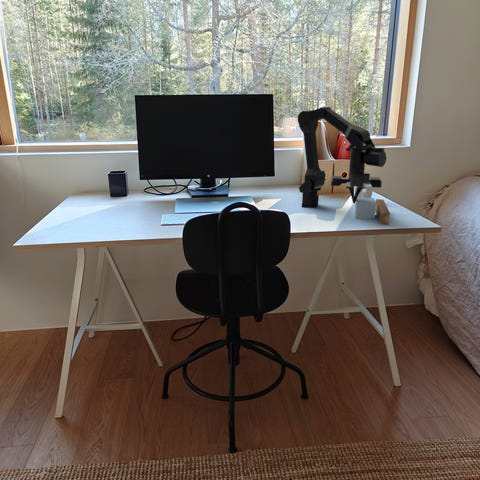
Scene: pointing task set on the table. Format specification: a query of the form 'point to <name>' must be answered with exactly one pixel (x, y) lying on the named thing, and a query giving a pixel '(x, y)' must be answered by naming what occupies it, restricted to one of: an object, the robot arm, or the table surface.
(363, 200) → the block
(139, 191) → the table surface
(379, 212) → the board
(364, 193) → the cup
